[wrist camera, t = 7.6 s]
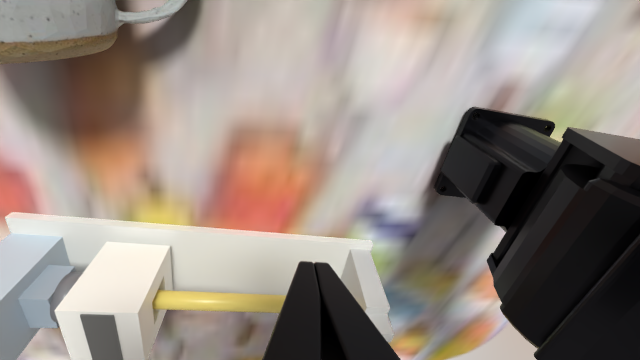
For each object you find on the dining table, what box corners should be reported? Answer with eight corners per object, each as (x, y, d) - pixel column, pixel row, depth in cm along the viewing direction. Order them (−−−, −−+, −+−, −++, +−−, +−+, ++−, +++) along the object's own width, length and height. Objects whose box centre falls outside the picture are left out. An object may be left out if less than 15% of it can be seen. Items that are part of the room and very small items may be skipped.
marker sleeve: (170, 245, 21) (136, 314, 16) (172, 294, 23) (144, 367, 19) (106, 241, 20) (52, 312, 16) (116, 292, 23) (72, 367, 18)
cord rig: (371, 240, 24) (403, 322, 18) (351, 298, 28) (371, 386, 21) (11, 211, 20) (-119, 309, 13) (38, 286, 23) (-56, 393, 17)
